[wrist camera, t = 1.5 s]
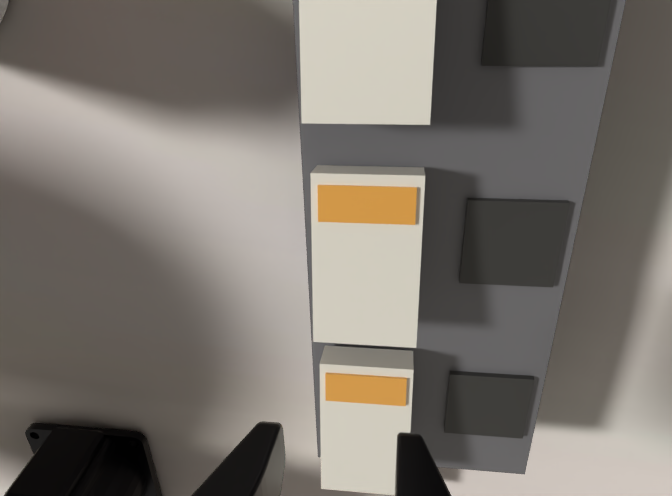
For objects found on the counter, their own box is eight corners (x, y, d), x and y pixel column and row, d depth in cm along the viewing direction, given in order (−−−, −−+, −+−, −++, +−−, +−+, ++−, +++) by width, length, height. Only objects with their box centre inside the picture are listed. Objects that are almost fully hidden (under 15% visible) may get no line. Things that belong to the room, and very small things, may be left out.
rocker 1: (428, 119, 14) (430, 125, 12) (309, 118, 14) (300, 123, 13) (439, -112, 12) (444, -132, 11) (306, -107, 12) (295, -126, 11)
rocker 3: (407, 471, 20) (407, 498, 19) (325, 465, 20) (320, 490, 19) (413, 350, 18) (413, 371, 17) (324, 345, 19) (319, 365, 17)
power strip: (495, 474, 27) (508, 558, 23) (333, 461, 28) (321, 539, 24) (604, -152, 15) (669, -186, 11) (311, -139, 16) (281, -166, 12)
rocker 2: (415, 328, 17) (416, 349, 15) (319, 323, 17) (312, 343, 16) (423, 167, 15) (425, 176, 14) (317, 165, 15) (309, 174, 14)
